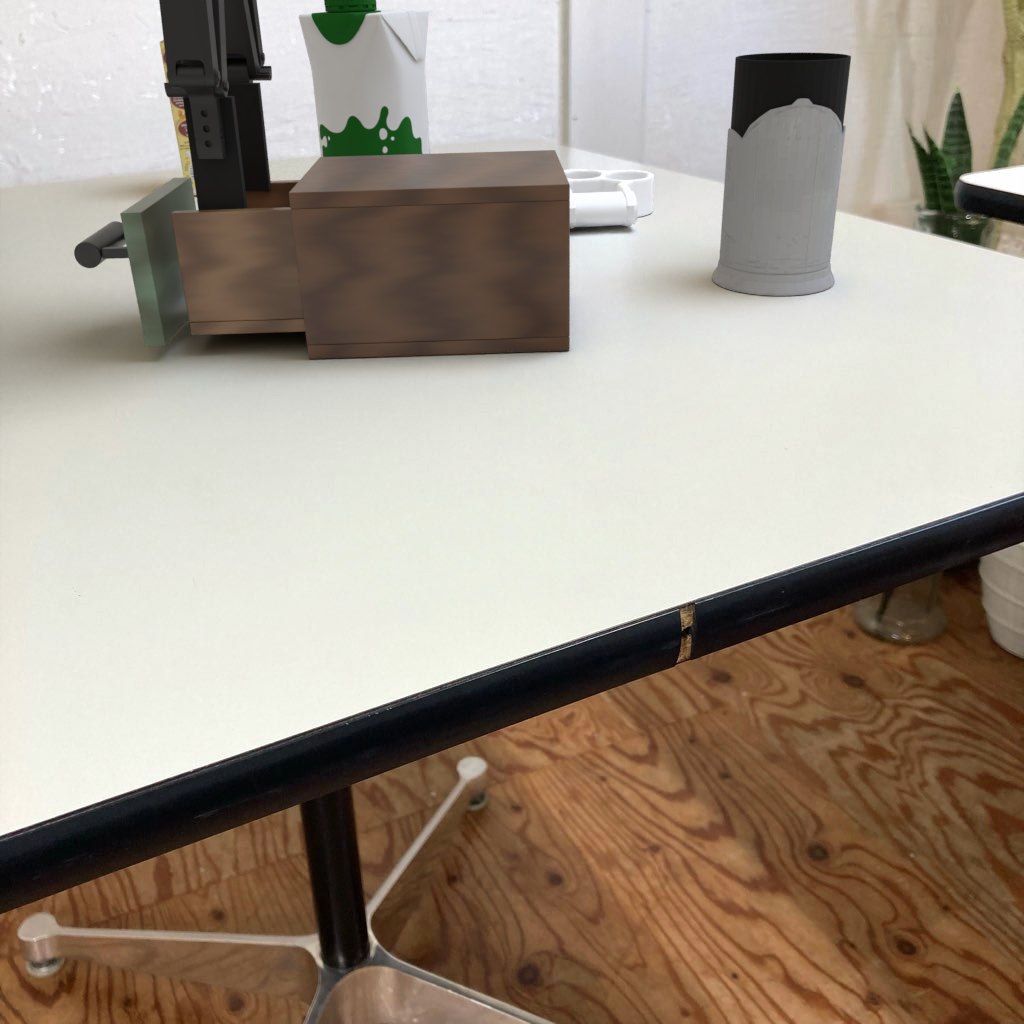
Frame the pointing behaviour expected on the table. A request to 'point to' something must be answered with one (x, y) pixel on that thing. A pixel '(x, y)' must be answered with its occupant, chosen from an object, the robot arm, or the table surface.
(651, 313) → the table surface
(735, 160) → the glass holder
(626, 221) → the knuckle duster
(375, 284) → the cabinet
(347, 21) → the milk carton
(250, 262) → the drawer
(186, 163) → the candy box
